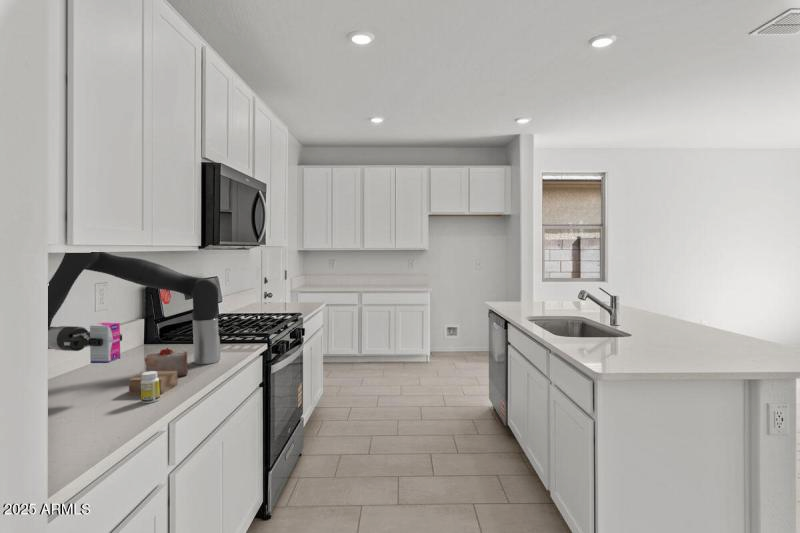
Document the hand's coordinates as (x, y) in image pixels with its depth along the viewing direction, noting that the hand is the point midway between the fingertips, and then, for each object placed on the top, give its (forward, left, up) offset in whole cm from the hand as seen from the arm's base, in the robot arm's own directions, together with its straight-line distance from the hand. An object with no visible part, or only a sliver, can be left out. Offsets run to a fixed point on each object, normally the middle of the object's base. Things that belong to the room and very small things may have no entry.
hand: (111, 339), depth 137 cm
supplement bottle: (+2, +15, -18) cm, 23 cm away
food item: (-23, 0, -18) cm, 29 cm away
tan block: (-8, +8, -18) cm, 21 cm away
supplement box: (0, -2, -7) cm, 7 cm away
